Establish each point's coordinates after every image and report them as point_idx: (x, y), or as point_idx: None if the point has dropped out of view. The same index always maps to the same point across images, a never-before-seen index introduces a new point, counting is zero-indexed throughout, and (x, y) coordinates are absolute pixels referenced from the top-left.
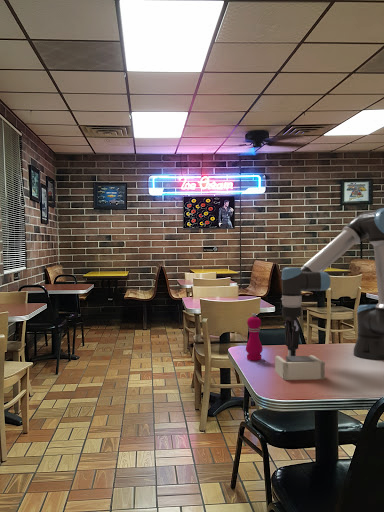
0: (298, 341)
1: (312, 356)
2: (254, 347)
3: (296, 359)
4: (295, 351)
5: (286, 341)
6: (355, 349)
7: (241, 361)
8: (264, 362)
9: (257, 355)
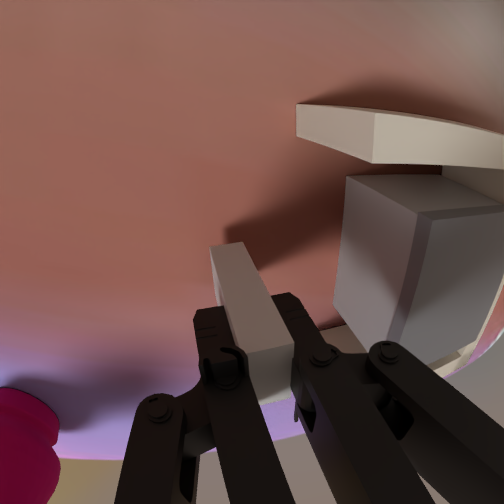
0: (471, 403)
1: (419, 147)
2: (53, 479)
3: (471, 317)
4: (284, 330)
5: (192, 487)
6: None
7: (93, 450)
8: (74, 387)
9: (38, 427)
